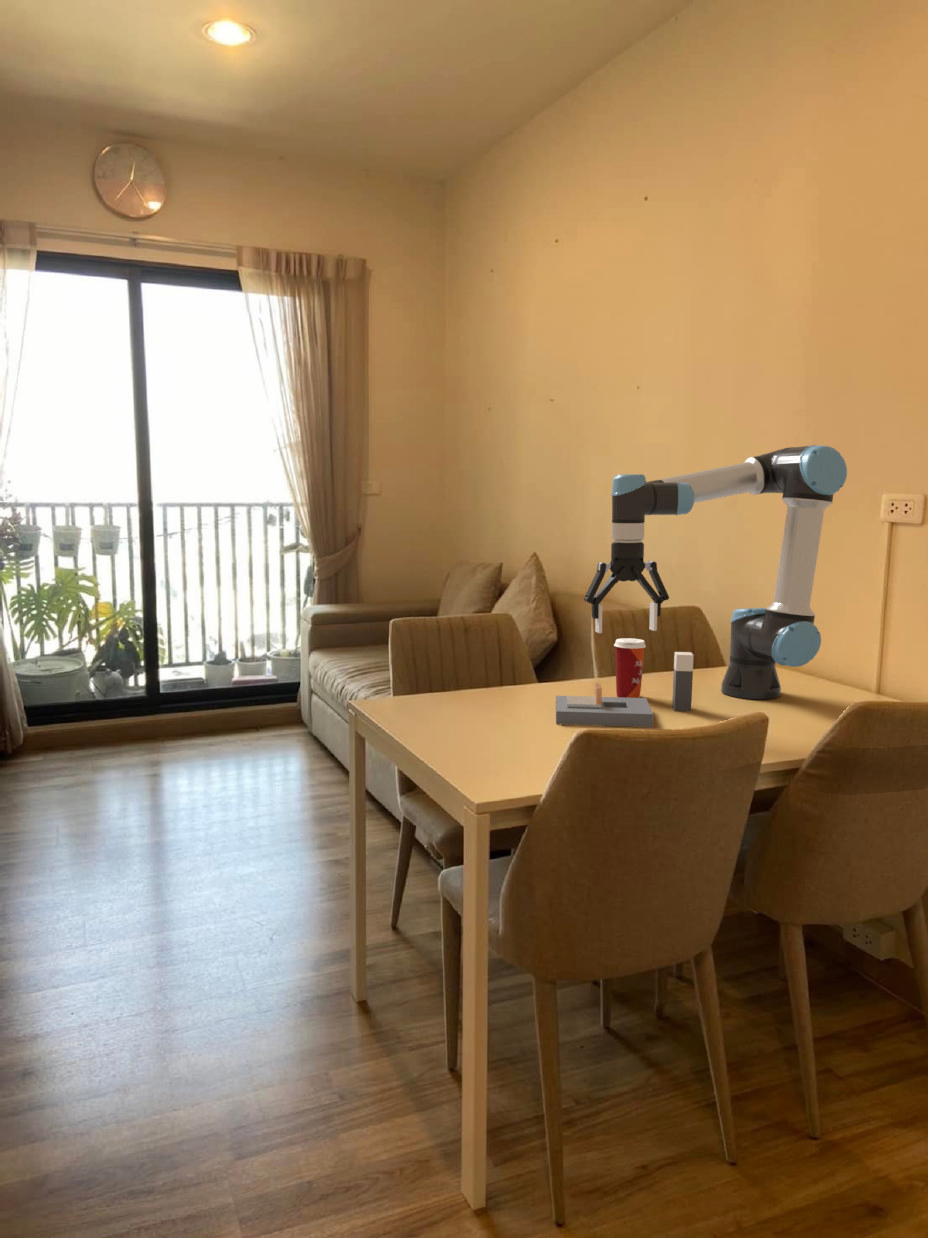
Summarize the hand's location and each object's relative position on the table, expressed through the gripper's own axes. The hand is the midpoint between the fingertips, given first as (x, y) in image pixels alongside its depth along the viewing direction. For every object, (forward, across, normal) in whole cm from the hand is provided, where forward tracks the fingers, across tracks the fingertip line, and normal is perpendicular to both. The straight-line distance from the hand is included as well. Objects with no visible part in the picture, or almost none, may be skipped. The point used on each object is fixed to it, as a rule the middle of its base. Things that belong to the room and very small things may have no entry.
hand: (625, 631), depth 211 cm
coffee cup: (+21, -8, -18) cm, 29 cm away
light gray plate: (+17, +10, -1) cm, 20 cm away
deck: (+20, +6, 0) cm, 21 cm away
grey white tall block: (+21, -16, -4) cm, 27 cm away
